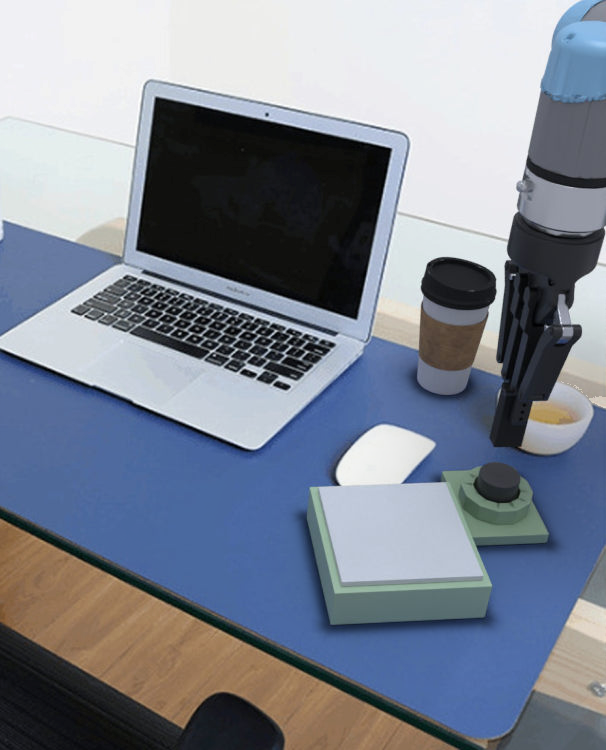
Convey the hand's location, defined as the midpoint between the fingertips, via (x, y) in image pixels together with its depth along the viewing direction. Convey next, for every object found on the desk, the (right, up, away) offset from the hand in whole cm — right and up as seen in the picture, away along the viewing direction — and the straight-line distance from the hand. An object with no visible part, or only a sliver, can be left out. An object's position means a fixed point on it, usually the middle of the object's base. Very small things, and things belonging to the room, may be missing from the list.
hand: (505, 442), depth 97 cm
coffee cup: (-1, +6, +24) cm, 25 cm away
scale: (-11, -11, -2) cm, 16 cm away
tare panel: (0, -7, +5) cm, 9 cm away
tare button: (0, -5, +4) cm, 6 cm away
